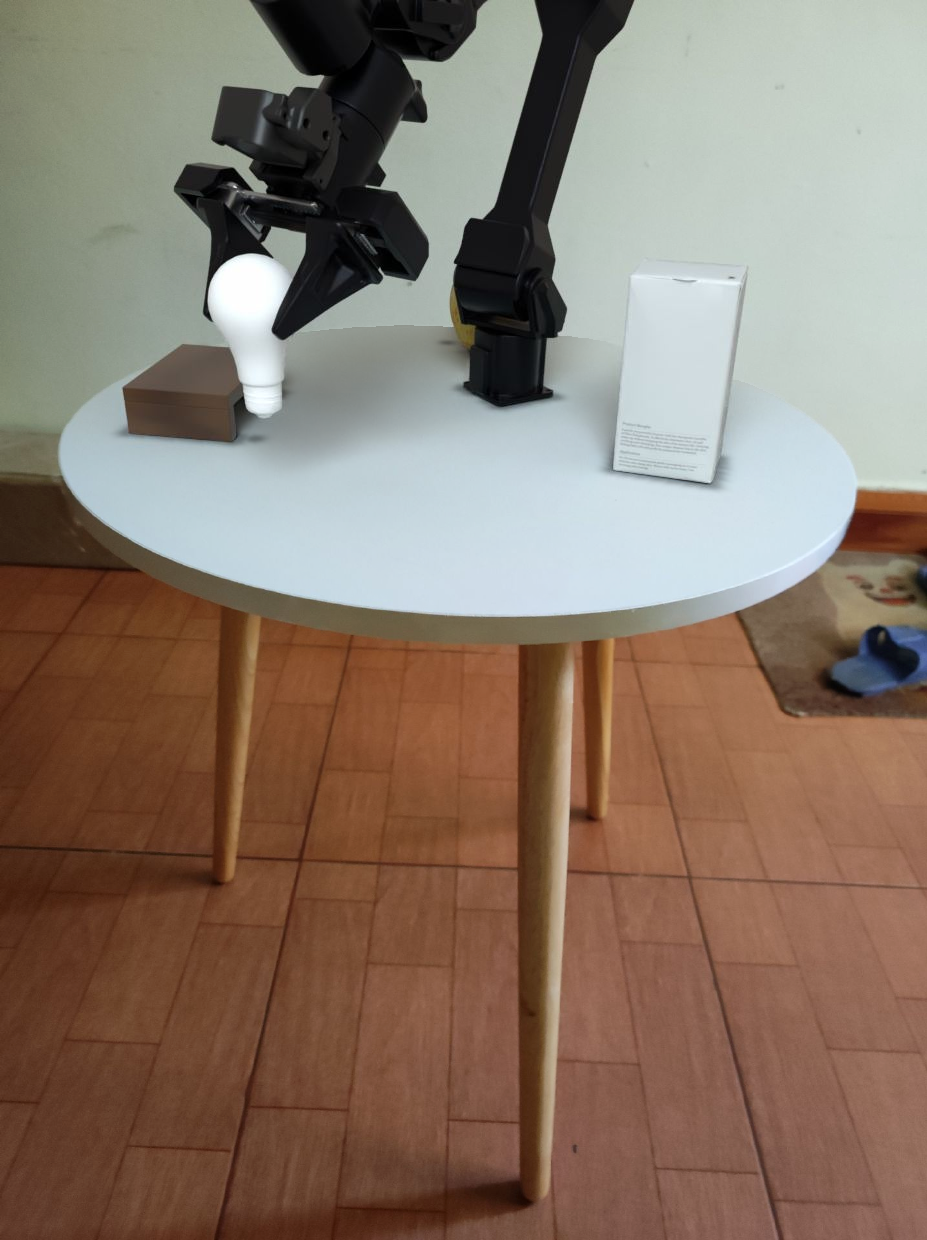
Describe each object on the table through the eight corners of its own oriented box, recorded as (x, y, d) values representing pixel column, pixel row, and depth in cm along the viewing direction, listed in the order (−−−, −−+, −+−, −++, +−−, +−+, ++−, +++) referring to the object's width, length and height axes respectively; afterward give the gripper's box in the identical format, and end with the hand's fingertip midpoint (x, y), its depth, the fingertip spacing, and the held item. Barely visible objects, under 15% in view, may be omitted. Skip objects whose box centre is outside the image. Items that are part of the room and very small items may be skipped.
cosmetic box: (721, 458, 83) (755, 264, 75) (711, 488, 78) (747, 282, 69) (622, 443, 85) (645, 253, 77) (606, 471, 80) (628, 270, 72)
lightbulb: (280, 396, 74) (268, 240, 68) (325, 420, 70) (316, 257, 64) (205, 413, 70) (185, 251, 65) (247, 439, 66) (231, 269, 61)
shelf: (278, 392, 94) (276, 350, 92) (231, 442, 83) (227, 395, 80) (187, 385, 95) (182, 343, 92) (128, 433, 84) (121, 386, 81)
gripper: (177, 27, 65) (63, 229, 63) (400, 38, 56) (275, 275, 54) (272, 148, 75) (176, 327, 73) (476, 175, 66) (372, 380, 64)
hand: (241, 327), depth 66 cm, fingers closed on lightbulb, 6 cm apart
